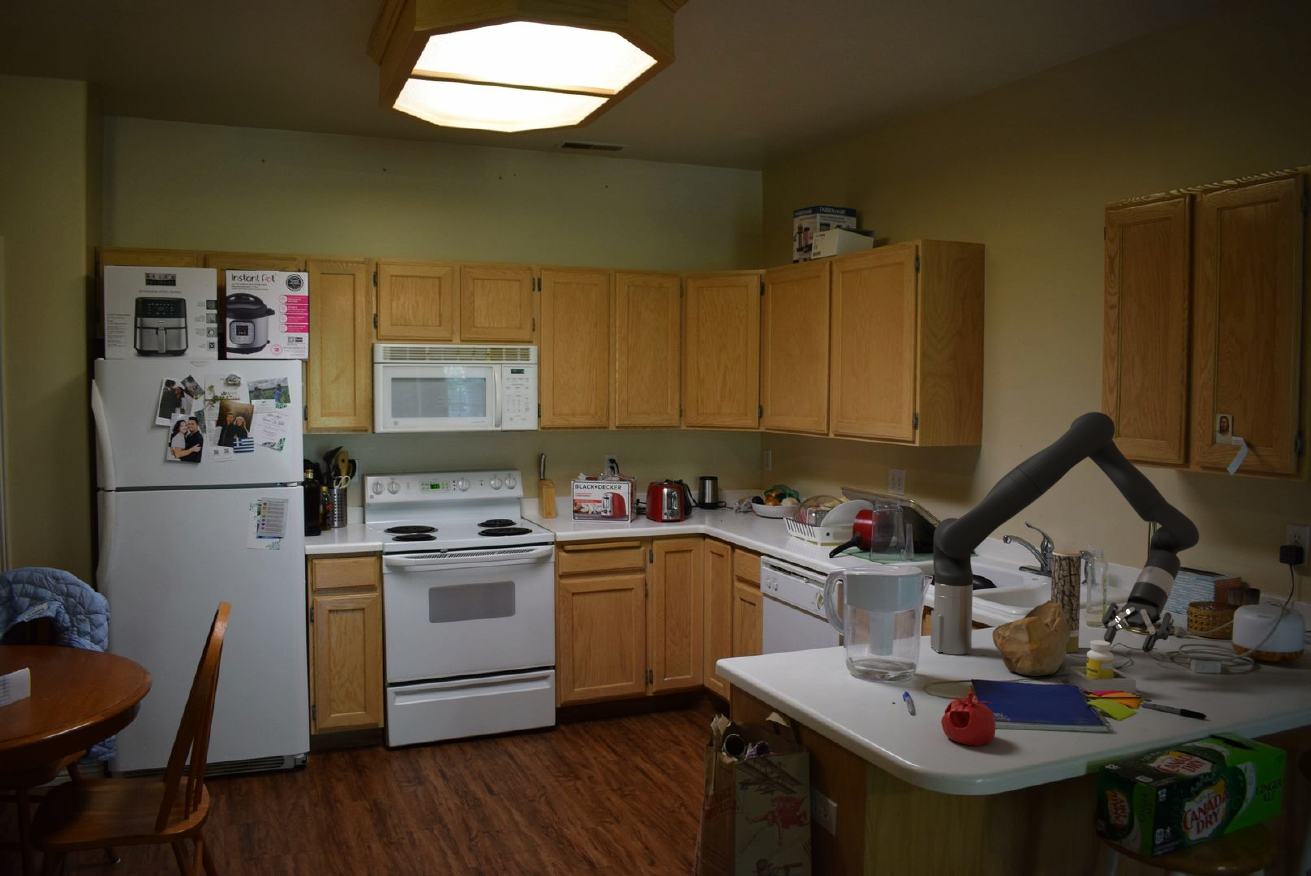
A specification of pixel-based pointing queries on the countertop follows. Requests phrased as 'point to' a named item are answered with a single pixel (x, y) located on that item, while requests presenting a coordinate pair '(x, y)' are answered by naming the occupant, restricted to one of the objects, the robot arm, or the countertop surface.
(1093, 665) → the supplement bottle
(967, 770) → the countertop surface
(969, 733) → the pomegranate
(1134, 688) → the shallow grey tray
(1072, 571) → the brown bark log
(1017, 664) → the rough brown rock
